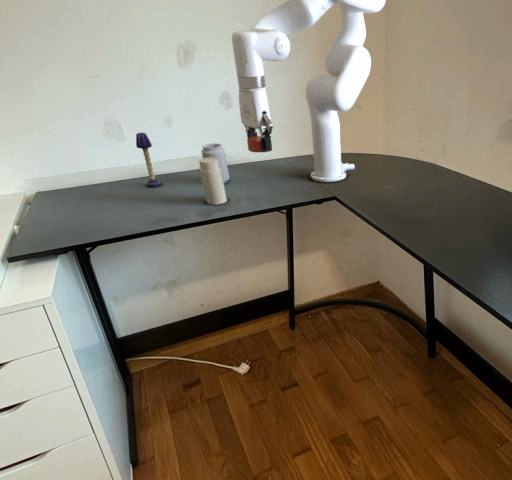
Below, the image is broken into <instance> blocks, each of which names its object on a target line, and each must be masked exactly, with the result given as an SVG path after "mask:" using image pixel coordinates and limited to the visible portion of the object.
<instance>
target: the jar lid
mask: <svg viewBox="0 0 512 480" xmlns="http://www.w3.org/2000/svg"><path fill="white" fill-rule="evenodd" d="M260 138H262V137H261V135H257V136H255V137H250V138H247V139H246V141H247V142H246V143H247V150H248V151H249V152H251V153H263V152H262V148H261V140H260ZM271 146H272V147H273V143H272V142H271Z"/></svg>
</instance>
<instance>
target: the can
mask: <svg viewBox="0 0 512 480" xmlns="http://www.w3.org/2000/svg"><path fill="white" fill-rule="evenodd" d="M200 152H201V156H202V158H208V157H214V158H218V160H219V166H220V167H221V171H222V177H223V182H224V184H226V183H228V181H229V180H230V173H229V168H228V163H227V157H226V151H225V148H224V147H222V144H221V143H207V144H204V145H202V149H201V151H200Z"/></svg>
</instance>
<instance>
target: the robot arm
mask: <svg viewBox="0 0 512 480" xmlns="http://www.w3.org/2000/svg"><path fill="white" fill-rule="evenodd" d="M386 1H387V0H286V1H284V2H283V3H280V5H278V6H277V7H275V8H273V9H272V10H270V11H269V12H267V13H265V15H263V16H262V17H261V18H259V20H258V21H257V22H256V23H255V24H254V25H253V26H252V27H251V28H250V30H237V31H234V32H233V33H232V34H231V44H232V50H233V56H234V63H235V71H236V77H237V83H238V84H237V85H238V105H239V114H240V115H239V116H240V121H241V124H242V125H243V126H244V128H245V133H246V137H247V139H248V138H250V137H255V136H258V131H259V134H260V136H261V137H262V138H260V140H261V148H262V152H261V153H268V152H272V151H273V145H272V146H271V143H272V131H273V128H274V124H273V122H272V121H271V112H270V106H269V100H268V95H267V91H266V89H267V87H266V80H265V71H264V61H269V62H282V61H284V60H285V59H286V58H287V57H289V54H290V51H291V43H290V39H289V37H288V36H289V35H292V34H296V33H299V32H300V33H301V32H303V31H305V30H309V29H310V28H312V27H313V26H314V25H315V24H316V23H317V22H318V21H319V20H320V19H321V18H322V17H323V15H325V13H326V12H328V10H330V9H331V7H333V6H334V5H336V4H338V5H339V8H340V14H341V22H340V23H341V24H340V27H339V30H338V32H337V33H336V36H335V38H334V40H333V42H332V43H331V45H330V47H329V49H328V52H327V53H326V56H325V58H324V59H325V60H324V68H325V71H326V72H327V73H328V75H327V74H317V75H314V76H312V77H311V78H310V79H309V80H308V82H307V83H306V86H305V97H306V102H307V106H308V112H309V116H310V124H311V125H310V126H311V139H312V140H311V141H312V153H313V155H312V156H313V167H314V171H311V173H310V179H311V180H313V181H316V182H321V183H333V182H334V183H335V182H339V181H342V180H344V179H346V177H347V173H346V172H347V171H355V169H356V167H355V163H349V162H346V163H343V162H342V150H341V149H342V147H341V123H340V118H339V115H338V113H345V112H348V111H349V110H350V109H351V108H352V107H353V106H354V104H355V103H356V101H357V99H358V97H359V96H360V93H361V91H362V90H363V88H364V86H365V84H366V82H367V80H368V77H369V76H370V73H371V69H372V68H371V67H372V59H371V54H370V52H369V51H368V49H367V48H366V47H364V44H365V41H366V37H367V27H366V23H365V17H364V14H376V13H378V12H380V11H382V9H383V8H384V7H385V4H386ZM256 130H258V131H256Z"/></svg>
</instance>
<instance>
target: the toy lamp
mask: <svg viewBox="0 0 512 480" xmlns="http://www.w3.org/2000/svg"><path fill="white" fill-rule="evenodd" d="M152 145H153V144H152V142H151V140H150V139H149V137H148V134H147V133H146V132H137V133H136V135H135V146H136V148H137V149H141V150H142V152H143V153H142V154H143V156H144V161H145V165H146V169H147V173H148V176H149V180H148V181H147V187H149V188H157V187H160V186H161V185H162V184H161V181H160V180H158V179H156V176H155V172H154V167H153V166H152V161H151V157H150V152H149V148H152Z"/></svg>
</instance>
